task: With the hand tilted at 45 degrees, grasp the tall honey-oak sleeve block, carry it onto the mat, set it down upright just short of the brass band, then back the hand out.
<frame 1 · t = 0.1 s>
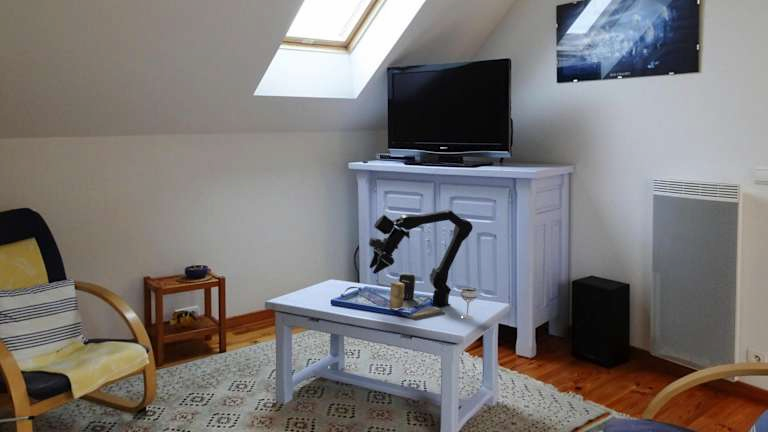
hand: (371, 270, 285), 15 cm above the table, tool tilted 35°, fingers open, 9 cm apart
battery: (405, 299, 298), on the table
sleeve: (396, 308, 283), on the table
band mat: (421, 313, 279), on the table
wineglass: (466, 317, 278), on the table
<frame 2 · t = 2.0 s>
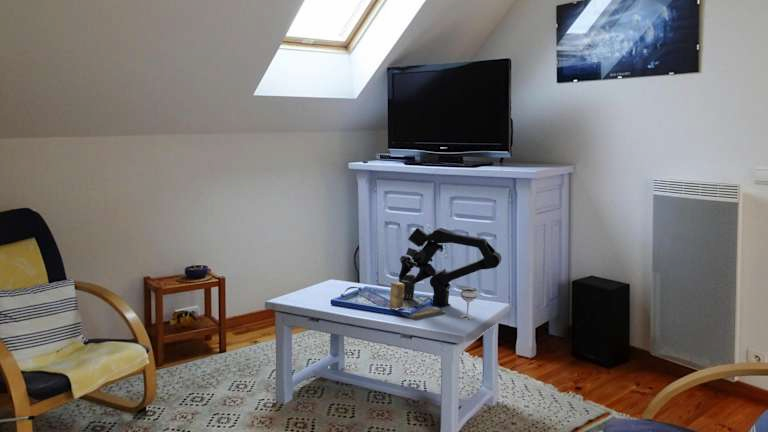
hand: (406, 280, 285), 11 cm above the table, tool tilted 45°, fingers open, 9 cm apart
nothing on the table moved.
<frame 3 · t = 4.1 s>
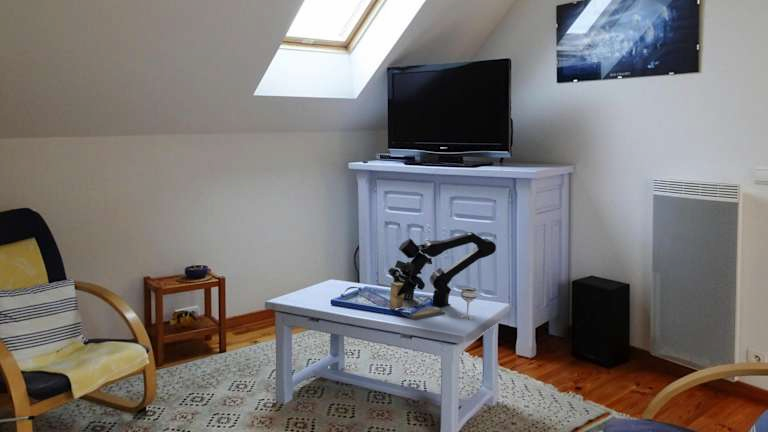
hand: (394, 293, 281), 7 cm above the table, tool tilted 45°, fingers closed on sleeve, 4 cm apart
sleeve: (396, 308, 283), on the table, touching gripper
everything else where it was.
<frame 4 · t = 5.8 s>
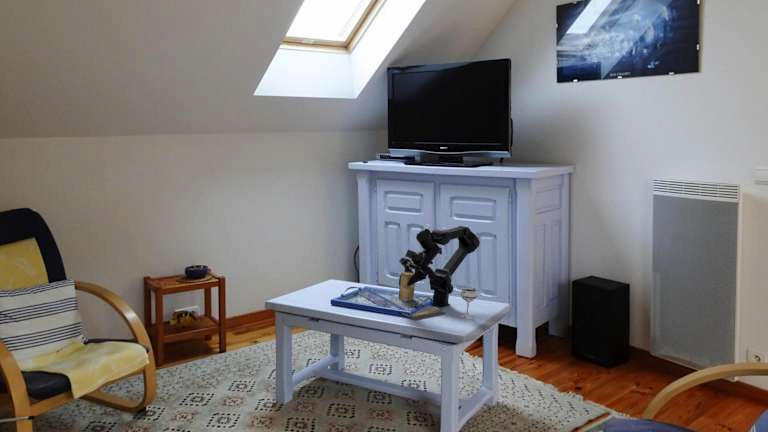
hand: (404, 283, 276), 13 cm above the table, tool tilted 45°, fingers closed on sleeve, 4 cm apart
sleeve: (406, 299, 278), point 6 cm above the table, touching gripper
everything else where it was.
when the fingers open (8 cm above the table, at t = 7.5 s): sleeve drops 1 cm, resting on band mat.
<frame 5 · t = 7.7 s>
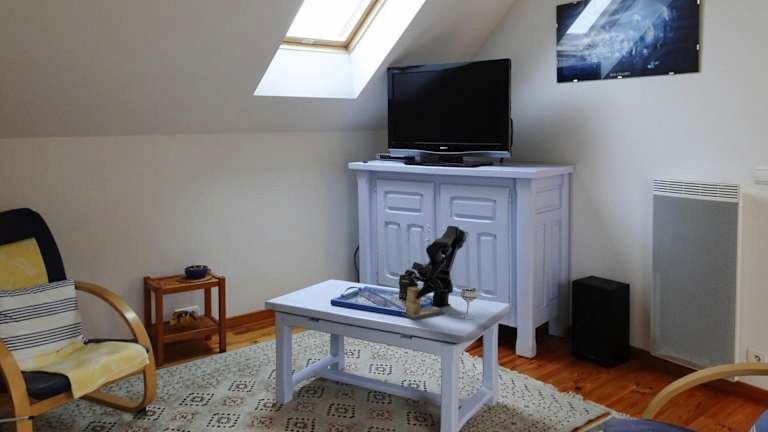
hand: (411, 296, 273), 8 cm above the table, tool tilted 45°, fingers open, 6 cm apart
sleeve: (412, 314, 275), point 1 cm above the table, touching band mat
everything else where it was.
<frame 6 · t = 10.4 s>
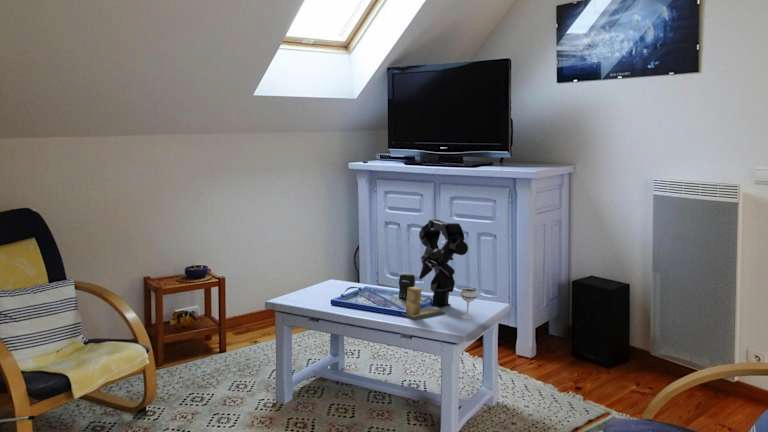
hand: (425, 281, 279), 13 cm above the table, tool tilted 40°, fingers open, 9 cm apart
nothing on the table moved.
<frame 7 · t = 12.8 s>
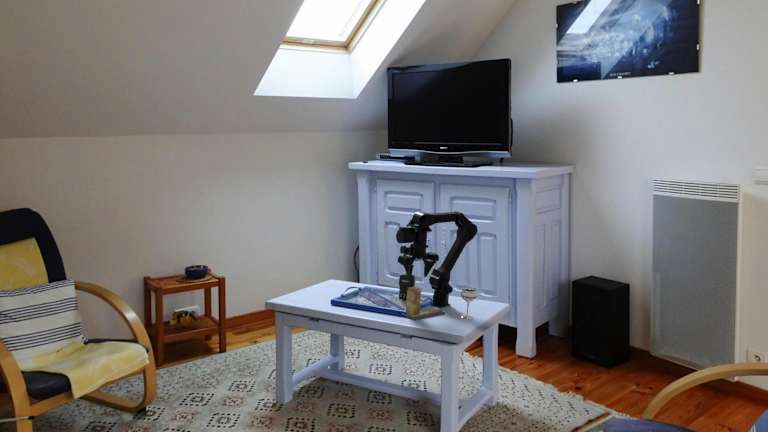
hand: (417, 278, 284), 13 cm above the table, tool pointing down, fingers open, 9 cm apart
nothing on the table moved.
at the end: sleeve 0.2 cm from the target spot, point 0.6 cm above the table; sleeve tilted 0°; the gripper is holding nothing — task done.
